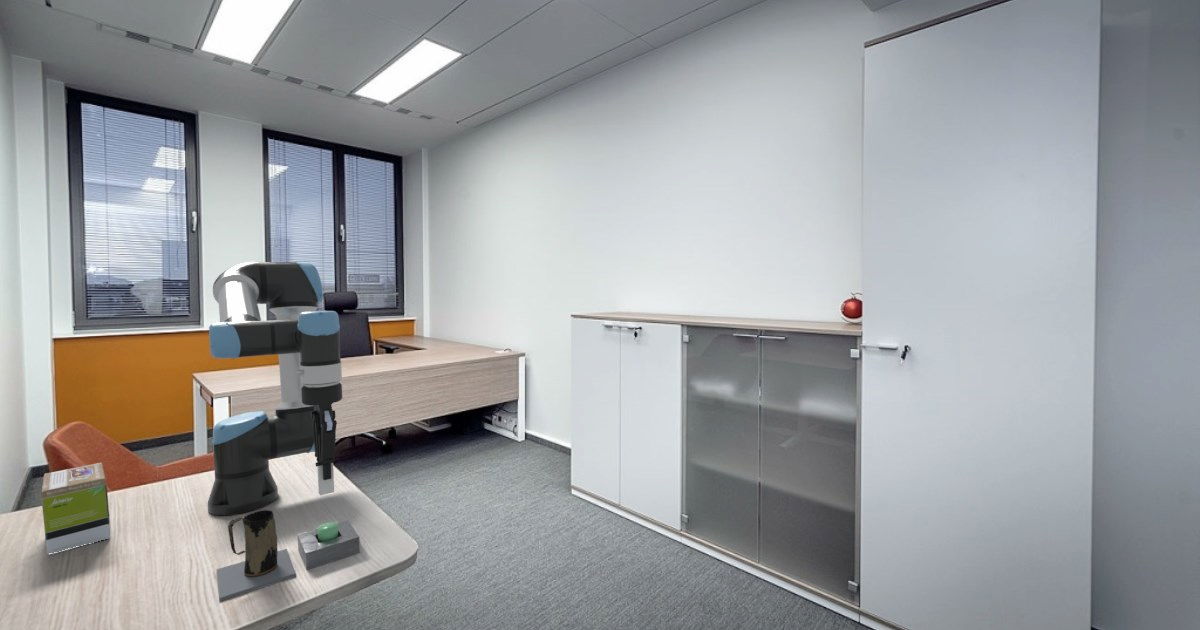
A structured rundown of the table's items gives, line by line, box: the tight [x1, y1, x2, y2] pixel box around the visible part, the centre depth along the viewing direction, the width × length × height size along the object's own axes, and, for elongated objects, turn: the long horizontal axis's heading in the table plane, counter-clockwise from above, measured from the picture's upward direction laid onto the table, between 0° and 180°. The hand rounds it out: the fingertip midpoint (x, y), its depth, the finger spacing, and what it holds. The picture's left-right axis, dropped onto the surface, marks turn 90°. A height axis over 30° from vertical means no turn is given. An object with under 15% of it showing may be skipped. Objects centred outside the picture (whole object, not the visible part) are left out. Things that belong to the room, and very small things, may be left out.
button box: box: [297, 520, 361, 571], centre depth 106 cm, size 10×10×4 cm
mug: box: [227, 509, 279, 577], centre depth 97 cm, size 8×6×12 cm
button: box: [317, 521, 338, 543], centre depth 106 cm, size 4×4×3 cm
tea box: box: [40, 462, 111, 555], centre depth 113 cm, size 15×10×15 cm, turn 47°
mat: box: [216, 548, 297, 602], centre depth 98 cm, size 12×12×1 cm
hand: (326, 492), depth 105 cm, fingers closed
